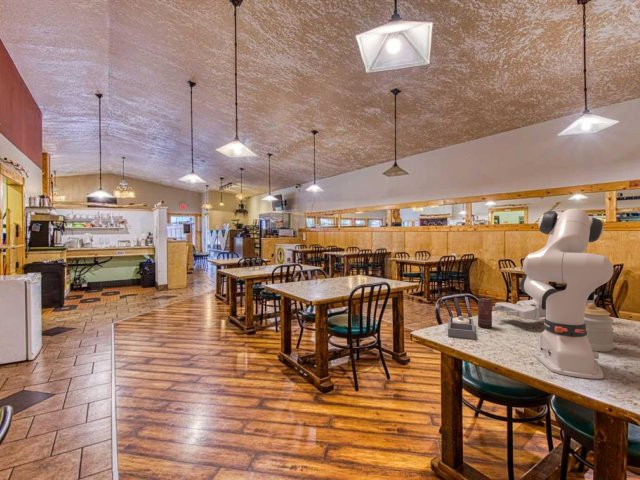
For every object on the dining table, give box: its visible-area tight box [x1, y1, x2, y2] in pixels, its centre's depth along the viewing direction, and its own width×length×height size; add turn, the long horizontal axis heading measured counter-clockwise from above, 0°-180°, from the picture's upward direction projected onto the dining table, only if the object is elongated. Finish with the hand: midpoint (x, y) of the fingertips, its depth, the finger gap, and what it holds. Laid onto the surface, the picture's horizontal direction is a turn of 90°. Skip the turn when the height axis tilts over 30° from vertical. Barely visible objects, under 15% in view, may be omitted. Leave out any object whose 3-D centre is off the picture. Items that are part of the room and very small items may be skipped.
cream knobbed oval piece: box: [452, 315, 470, 324], centre depth 156 cm, size 8×8×4 cm
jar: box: [584, 302, 614, 353], centre depth 129 cm, size 13×13×18 cm
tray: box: [447, 316, 476, 340], centre depth 151 cm, size 22×11×4 cm, turn 157°
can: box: [477, 297, 494, 329], centre depth 157 cm, size 6×6×14 cm
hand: (500, 310), depth 158 cm, fingers open, 8 cm apart
